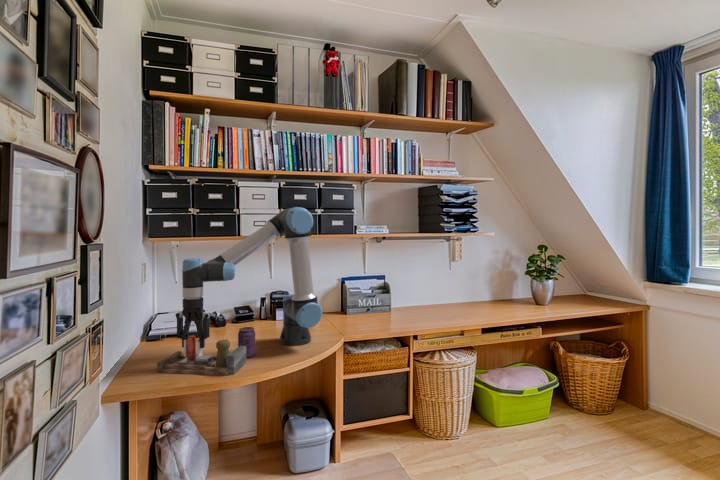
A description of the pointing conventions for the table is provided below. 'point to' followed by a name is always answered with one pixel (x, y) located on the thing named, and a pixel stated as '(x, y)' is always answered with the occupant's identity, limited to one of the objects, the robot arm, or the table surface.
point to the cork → (222, 353)
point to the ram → (191, 354)
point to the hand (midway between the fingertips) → (193, 355)
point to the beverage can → (247, 340)
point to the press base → (233, 364)
